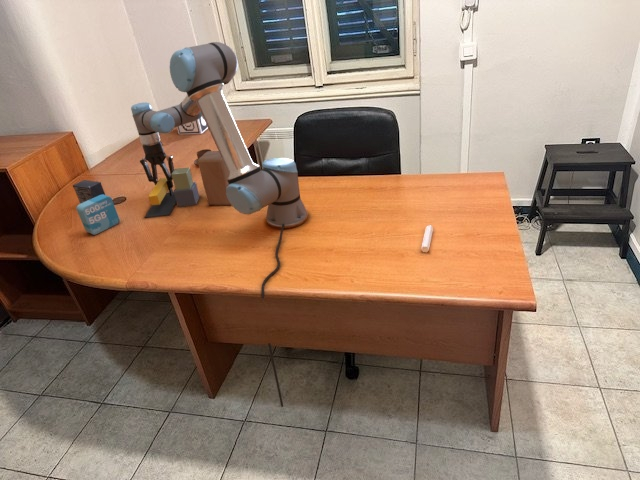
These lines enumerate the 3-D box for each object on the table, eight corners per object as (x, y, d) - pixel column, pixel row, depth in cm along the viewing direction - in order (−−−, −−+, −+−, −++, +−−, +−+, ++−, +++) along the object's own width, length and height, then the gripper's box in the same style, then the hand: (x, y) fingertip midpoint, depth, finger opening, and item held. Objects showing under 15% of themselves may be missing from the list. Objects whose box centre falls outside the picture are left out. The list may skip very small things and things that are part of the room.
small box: (110, 203, 191) (101, 181, 185) (98, 210, 186) (88, 187, 180) (93, 200, 195) (84, 178, 189) (80, 207, 190) (71, 185, 184)
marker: (430, 228, 150) (425, 253, 138) (425, 225, 150) (419, 250, 138) (434, 223, 149) (430, 248, 136) (429, 219, 149) (424, 244, 136)
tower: (196, 205, 182) (187, 173, 174) (177, 206, 182) (168, 175, 174) (199, 196, 188) (191, 166, 181) (182, 198, 188) (173, 168, 181)
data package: (92, 236, 166) (81, 208, 160) (86, 233, 169) (74, 205, 162) (120, 222, 174) (110, 195, 168) (114, 219, 177) (104, 192, 170)
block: (230, 206, 178) (220, 159, 167) (207, 205, 180) (196, 159, 169) (239, 195, 186) (229, 149, 176) (217, 194, 188) (206, 150, 178)
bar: (159, 204, 175) (156, 195, 173) (151, 205, 175) (148, 196, 173) (170, 185, 190) (168, 177, 188) (162, 186, 190) (160, 178, 188)
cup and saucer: (223, 160, 223) (221, 149, 219) (206, 169, 214) (203, 157, 211) (206, 157, 229) (204, 146, 225) (189, 166, 220) (186, 154, 217)
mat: (169, 215, 175) (169, 214, 175) (144, 218, 176) (144, 217, 175) (181, 191, 194) (181, 191, 194) (159, 194, 194) (159, 193, 194)
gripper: (174, 137, 181) (188, 189, 193) (134, 141, 181) (150, 193, 193) (169, 143, 174) (184, 196, 187) (128, 147, 174) (145, 200, 187)
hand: (167, 194), depth 190 cm, fingers closed on bar, 3 cm apart
